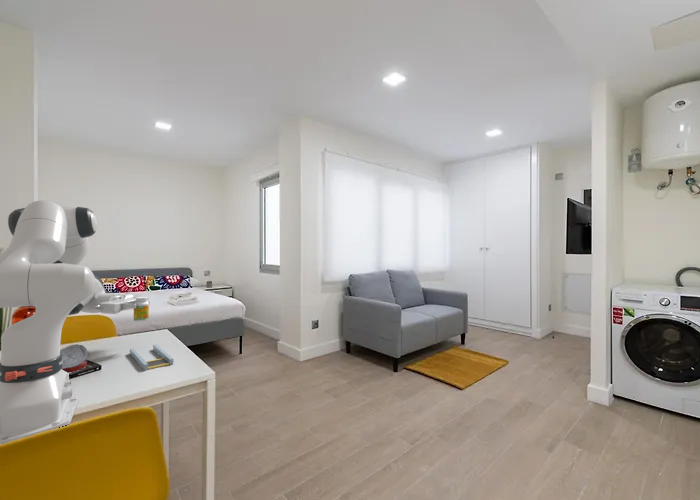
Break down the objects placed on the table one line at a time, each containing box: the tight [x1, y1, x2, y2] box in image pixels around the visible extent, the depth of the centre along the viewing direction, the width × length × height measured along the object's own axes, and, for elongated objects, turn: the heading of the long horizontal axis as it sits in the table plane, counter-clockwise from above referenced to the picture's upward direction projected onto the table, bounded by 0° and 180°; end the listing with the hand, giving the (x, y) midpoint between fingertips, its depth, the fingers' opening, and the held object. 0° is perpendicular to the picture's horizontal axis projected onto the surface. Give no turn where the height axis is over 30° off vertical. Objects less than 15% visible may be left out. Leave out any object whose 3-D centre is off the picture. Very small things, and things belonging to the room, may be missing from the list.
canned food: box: [60, 344, 89, 372], centre depth 113 cm, size 11×10×10 cm
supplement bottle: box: [133, 296, 150, 322], centre depth 139 cm, size 5×5×10 cm
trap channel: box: [129, 344, 174, 371], centre depth 127 cm, size 24×9×2 cm, turn 44°
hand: (142, 304), depth 139 cm, fingers closed on supplement bottle, 5 cm apart
